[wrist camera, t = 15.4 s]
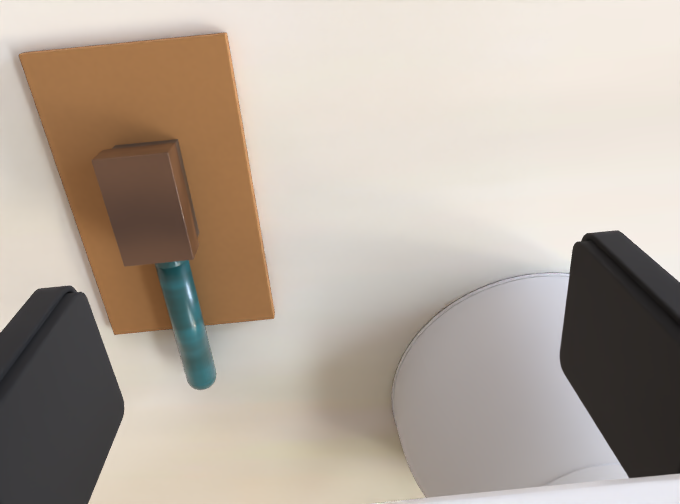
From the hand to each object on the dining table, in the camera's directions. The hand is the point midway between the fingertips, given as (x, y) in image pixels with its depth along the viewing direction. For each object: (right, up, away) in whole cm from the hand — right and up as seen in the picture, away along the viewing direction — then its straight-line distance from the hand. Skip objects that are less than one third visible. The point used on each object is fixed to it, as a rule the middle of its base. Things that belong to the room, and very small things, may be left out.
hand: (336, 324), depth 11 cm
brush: (-11, 0, +28) cm, 30 cm away
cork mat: (-12, +5, +26) cm, 29 cm away
